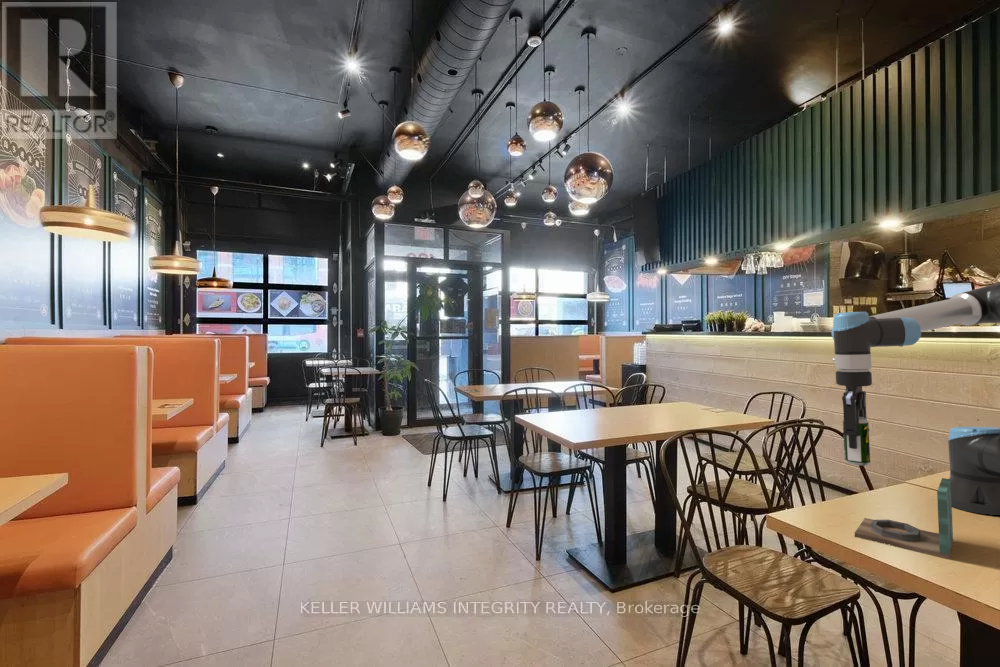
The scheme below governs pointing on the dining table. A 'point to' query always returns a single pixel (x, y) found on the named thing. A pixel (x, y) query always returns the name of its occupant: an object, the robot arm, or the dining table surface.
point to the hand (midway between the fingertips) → (857, 458)
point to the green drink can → (864, 443)
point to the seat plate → (915, 529)
